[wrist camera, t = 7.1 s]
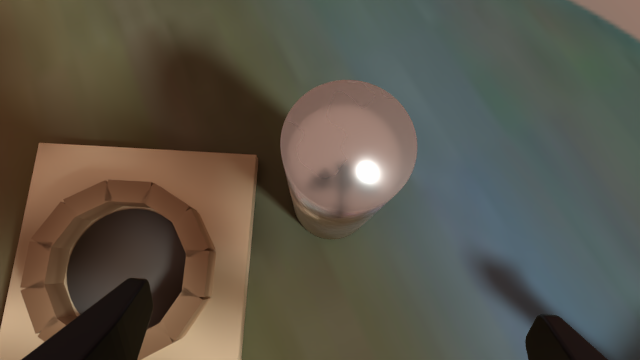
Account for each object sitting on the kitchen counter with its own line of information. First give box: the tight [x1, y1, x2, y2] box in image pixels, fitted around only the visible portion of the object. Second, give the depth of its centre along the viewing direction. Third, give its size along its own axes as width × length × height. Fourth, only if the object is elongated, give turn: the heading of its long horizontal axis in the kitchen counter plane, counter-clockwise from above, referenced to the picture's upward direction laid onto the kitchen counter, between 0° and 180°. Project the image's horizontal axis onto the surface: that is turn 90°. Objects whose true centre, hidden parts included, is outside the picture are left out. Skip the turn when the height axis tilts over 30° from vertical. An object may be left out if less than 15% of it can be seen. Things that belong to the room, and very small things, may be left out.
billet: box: [280, 80, 417, 239], centre depth 17 cm, size 4×4×10 cm
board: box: [0, 143, 258, 360], centre depth 20 cm, size 12×11×2 cm
